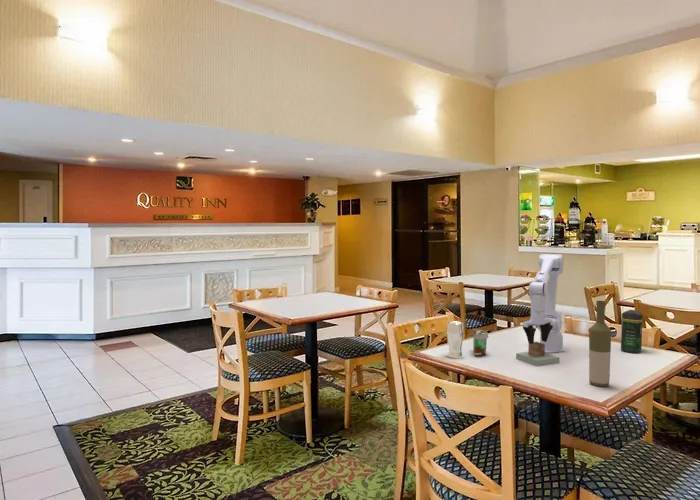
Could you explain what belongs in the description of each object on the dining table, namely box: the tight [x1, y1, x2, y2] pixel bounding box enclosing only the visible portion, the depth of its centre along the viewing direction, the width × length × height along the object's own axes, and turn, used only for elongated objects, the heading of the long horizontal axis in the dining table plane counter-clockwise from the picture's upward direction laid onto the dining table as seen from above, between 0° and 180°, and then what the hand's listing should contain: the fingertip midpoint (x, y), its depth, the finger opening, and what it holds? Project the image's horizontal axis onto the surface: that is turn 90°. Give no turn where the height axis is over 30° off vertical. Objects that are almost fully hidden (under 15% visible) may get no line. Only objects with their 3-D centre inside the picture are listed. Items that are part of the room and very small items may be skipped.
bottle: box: [588, 300, 612, 387], centre depth 169 cm, size 7×7×30 cm
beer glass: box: [446, 320, 464, 359], centre depth 206 cm, size 7×7×15 cm
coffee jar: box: [620, 309, 644, 354], centre depth 215 cm, size 10×8×19 cm
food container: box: [472, 328, 489, 358], centre depth 211 cm, size 12×6×10 cm, turn 168°
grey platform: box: [515, 351, 560, 367], centre depth 200 cm, size 12×12×3 cm
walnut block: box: [527, 341, 546, 357], centre depth 200 cm, size 4×4×5 cm
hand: (537, 342), depth 199 cm, fingers open, 7 cm apart
